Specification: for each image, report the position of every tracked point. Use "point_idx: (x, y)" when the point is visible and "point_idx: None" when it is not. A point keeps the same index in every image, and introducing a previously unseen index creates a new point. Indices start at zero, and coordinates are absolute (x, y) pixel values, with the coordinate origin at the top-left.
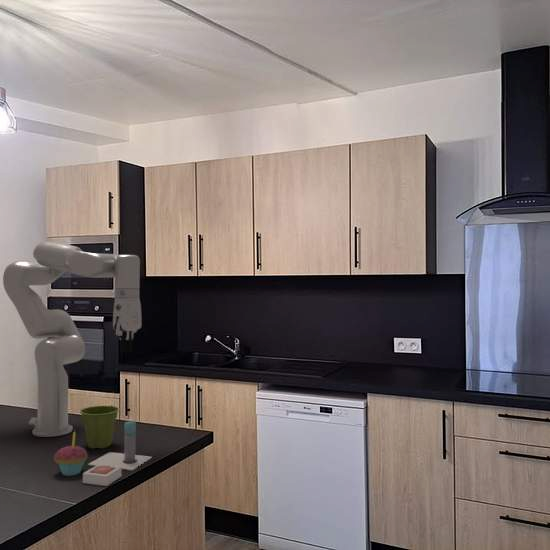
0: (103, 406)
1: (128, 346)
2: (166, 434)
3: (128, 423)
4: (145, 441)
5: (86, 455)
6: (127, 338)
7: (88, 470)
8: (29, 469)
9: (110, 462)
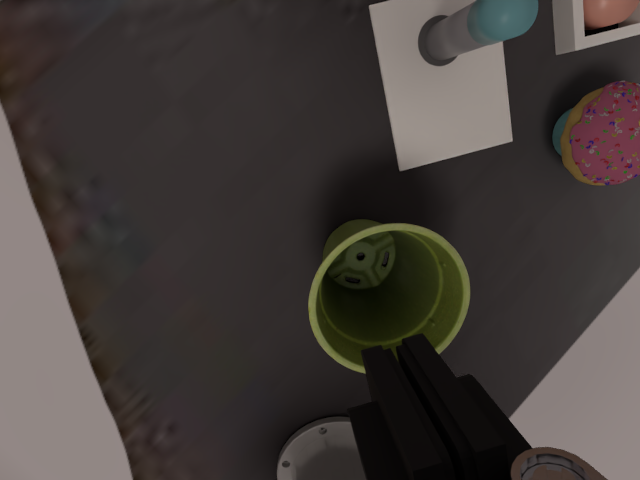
0: (329, 343)
1: (456, 391)
2: (128, 155)
3: (528, 4)
4: (241, 161)
5: (596, 93)
6: (593, 473)
7: (627, 35)
8: (592, 249)
9: (475, 91)
